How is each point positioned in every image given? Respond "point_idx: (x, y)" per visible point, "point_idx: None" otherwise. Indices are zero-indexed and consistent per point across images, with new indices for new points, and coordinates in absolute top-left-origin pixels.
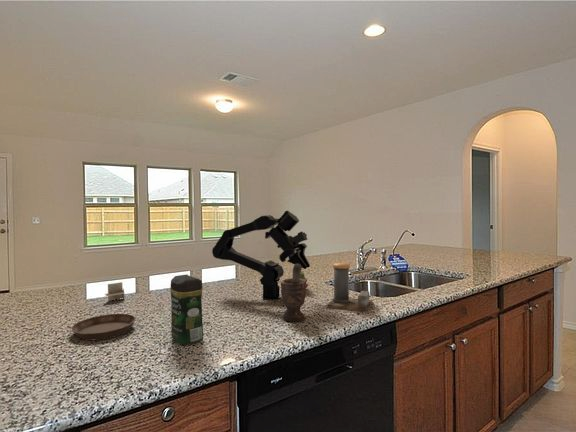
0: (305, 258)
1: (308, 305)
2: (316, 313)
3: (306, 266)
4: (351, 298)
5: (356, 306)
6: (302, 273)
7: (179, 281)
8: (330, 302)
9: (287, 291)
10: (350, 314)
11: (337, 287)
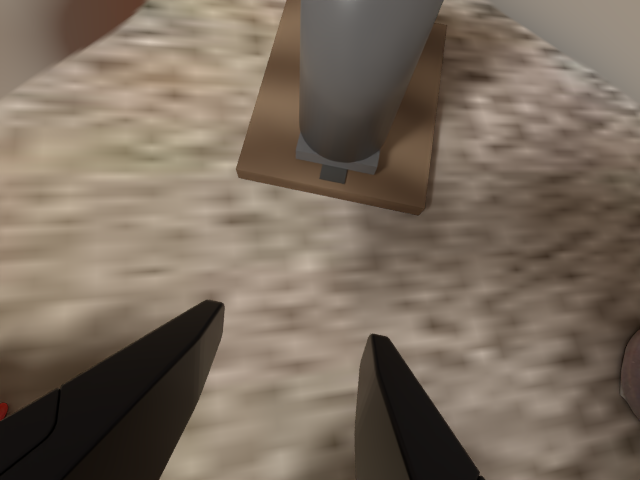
0: (121, 411)
1: (394, 330)
2: (537, 267)
3: (392, 344)
4: (268, 82)
5: (425, 67)
6: None
7: None
8: (375, 192)
9: None
10: (500, 108)
11: (404, 92)
